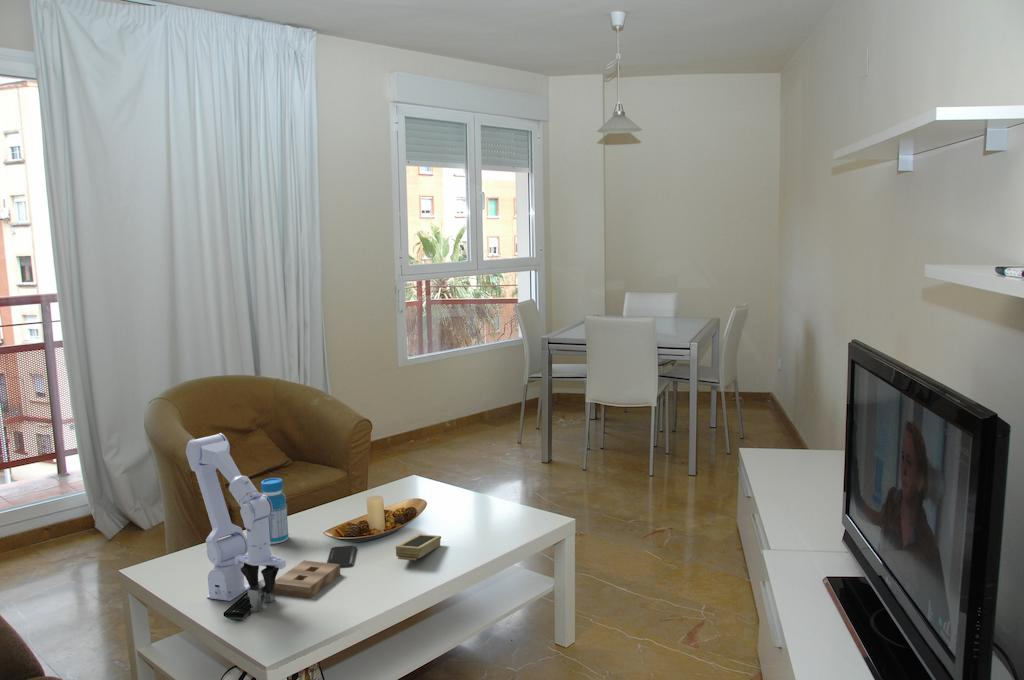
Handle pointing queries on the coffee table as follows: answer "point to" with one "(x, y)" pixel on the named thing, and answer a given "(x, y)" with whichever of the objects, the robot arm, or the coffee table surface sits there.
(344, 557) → the phone
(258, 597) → the metal staple
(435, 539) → the box
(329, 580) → the wooden board with holes
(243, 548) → the robot arm
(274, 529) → the beverage bottle
